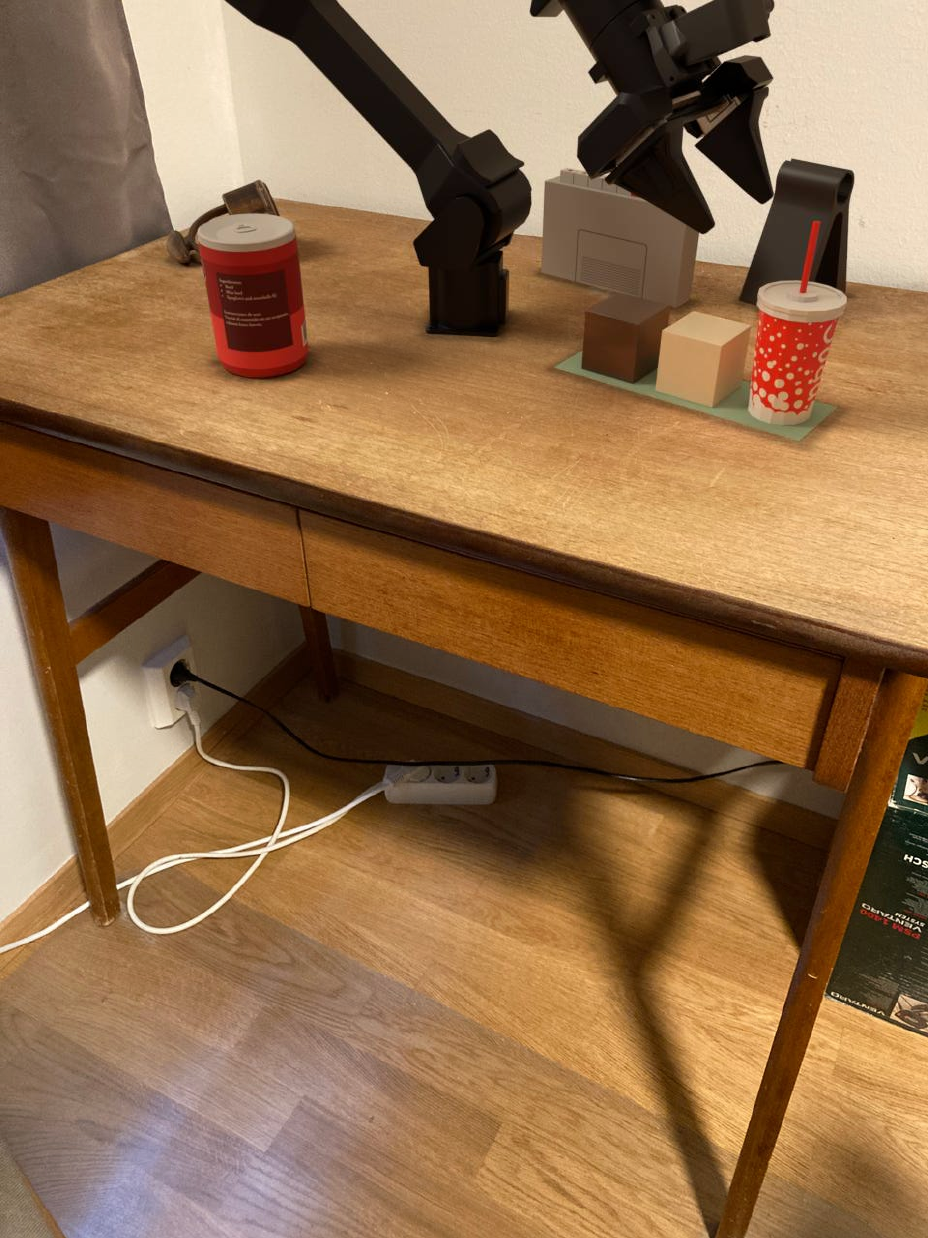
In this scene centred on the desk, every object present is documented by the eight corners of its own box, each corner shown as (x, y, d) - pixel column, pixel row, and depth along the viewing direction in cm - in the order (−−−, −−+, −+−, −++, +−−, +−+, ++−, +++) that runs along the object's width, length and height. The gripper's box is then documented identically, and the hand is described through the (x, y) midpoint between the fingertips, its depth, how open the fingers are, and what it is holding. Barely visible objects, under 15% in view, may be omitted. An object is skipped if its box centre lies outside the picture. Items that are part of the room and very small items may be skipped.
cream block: (655, 391, 79) (662, 329, 76) (685, 369, 82) (693, 310, 79) (712, 408, 77) (722, 345, 74) (741, 385, 80) (752, 325, 77)
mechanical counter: (280, 216, 100) (294, 168, 106) (151, 204, 99) (172, 156, 106) (284, 281, 105) (297, 231, 112) (162, 270, 105) (182, 220, 111)
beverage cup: (785, 438, 73) (826, 241, 64) (720, 408, 77) (751, 219, 68) (837, 414, 76) (883, 223, 67) (772, 387, 79) (808, 203, 71)
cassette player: (689, 302, 95) (704, 191, 89) (675, 310, 93) (689, 198, 87) (556, 267, 103) (561, 163, 97) (541, 274, 101) (545, 169, 95)
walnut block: (580, 368, 83) (584, 309, 80) (612, 349, 86) (617, 291, 83) (633, 384, 80) (639, 323, 77) (664, 363, 83) (671, 304, 80)
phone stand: (793, 319, 91) (820, 180, 84) (737, 302, 95) (759, 167, 87) (845, 295, 96) (875, 161, 89) (791, 279, 100) (815, 150, 92)
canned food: (273, 334, 90) (256, 206, 83) (328, 360, 85) (316, 227, 78) (200, 359, 86) (176, 227, 79) (254, 387, 81) (234, 249, 74)
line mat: (553, 370, 83) (553, 366, 83) (598, 343, 87) (599, 340, 87) (798, 444, 73) (799, 440, 72) (836, 410, 77) (837, 406, 77)
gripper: (631, -58, 59) (770, 170, 61) (771, -76, 71) (885, 116, 72) (520, 76, 68) (644, 273, 69) (661, 41, 79) (764, 210, 81)
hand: (740, 214), depth 73 cm, fingers open, 9 cm apart
